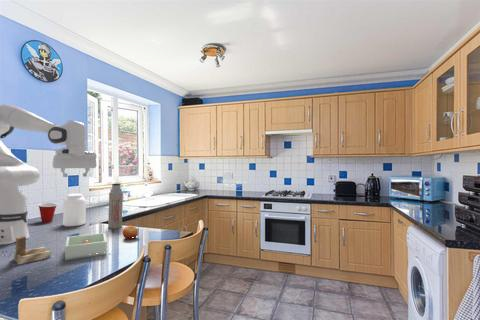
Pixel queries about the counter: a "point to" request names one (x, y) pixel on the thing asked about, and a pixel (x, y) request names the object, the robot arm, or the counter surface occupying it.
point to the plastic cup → (47, 211)
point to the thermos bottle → (115, 207)
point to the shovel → (28, 252)
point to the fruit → (130, 232)
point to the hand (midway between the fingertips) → (75, 176)
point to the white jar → (74, 210)
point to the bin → (85, 246)
